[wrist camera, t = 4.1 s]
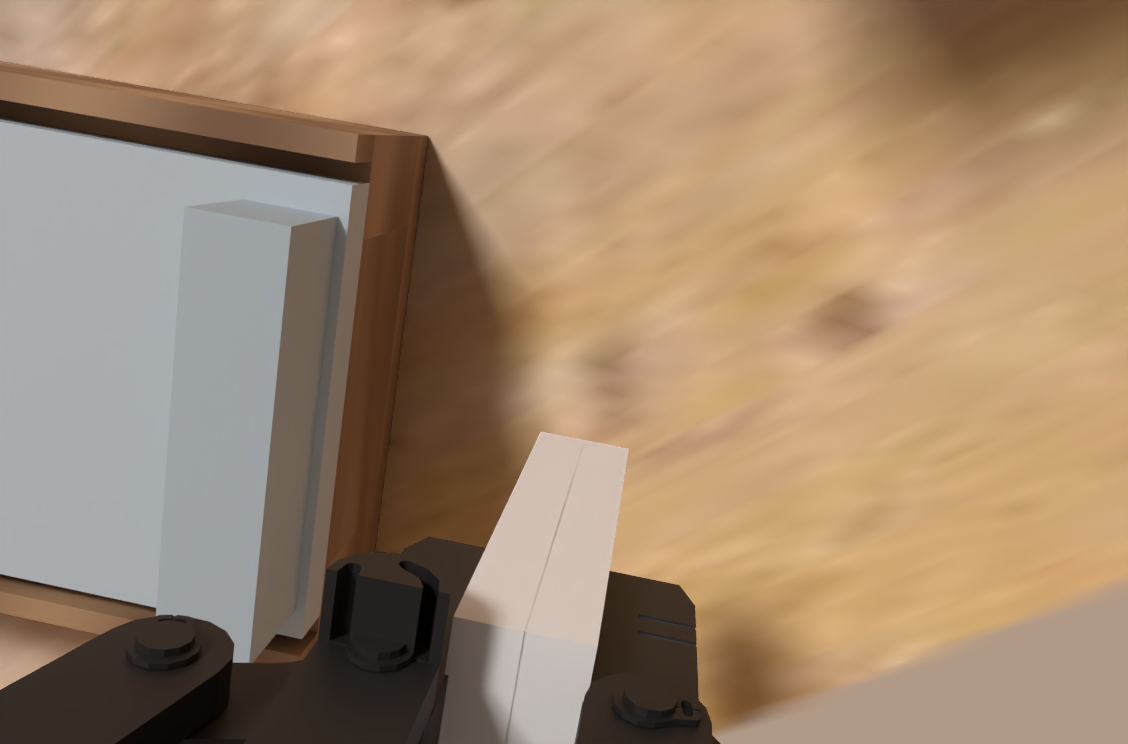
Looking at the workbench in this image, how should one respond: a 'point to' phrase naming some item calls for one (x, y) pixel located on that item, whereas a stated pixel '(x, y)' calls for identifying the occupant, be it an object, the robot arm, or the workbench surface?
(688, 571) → the workbench surface
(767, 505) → the workbench surface
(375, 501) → the case
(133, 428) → the lid
